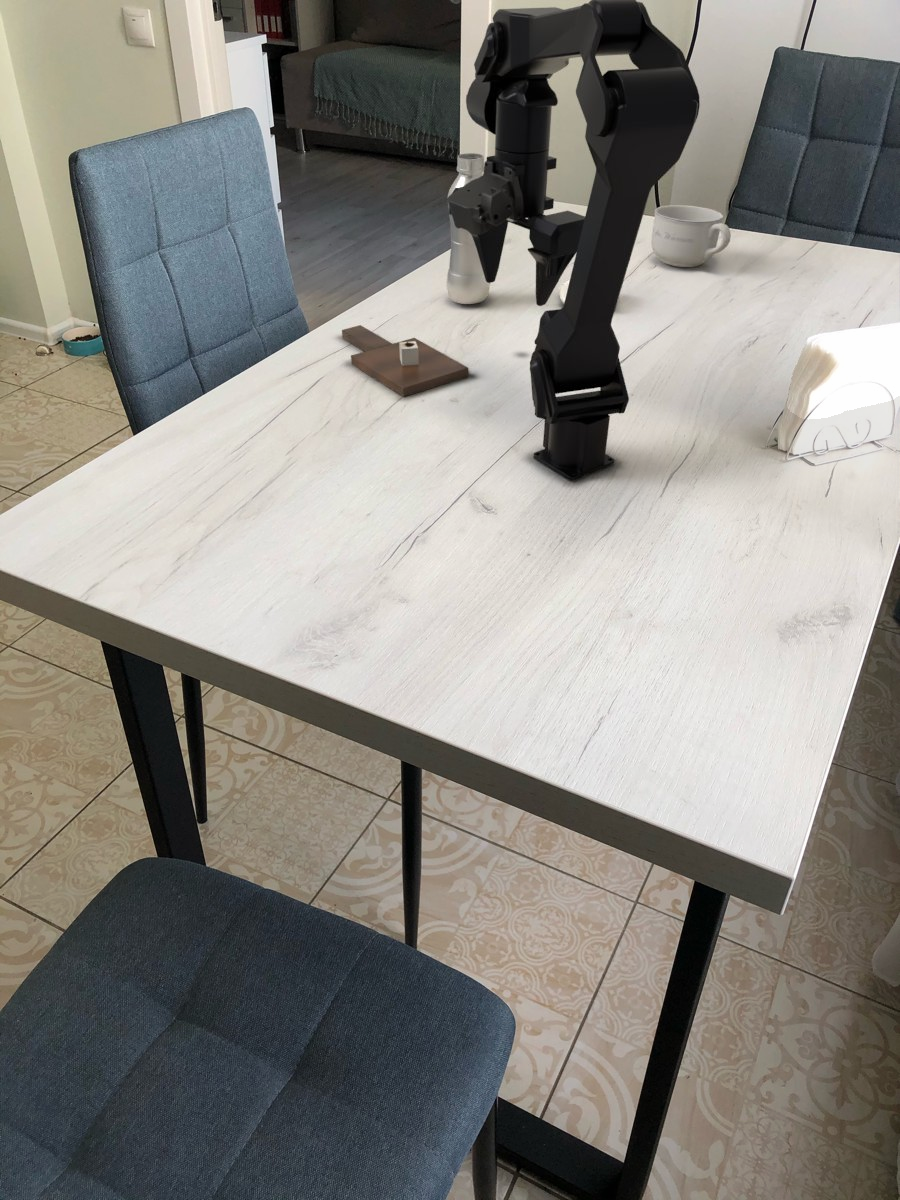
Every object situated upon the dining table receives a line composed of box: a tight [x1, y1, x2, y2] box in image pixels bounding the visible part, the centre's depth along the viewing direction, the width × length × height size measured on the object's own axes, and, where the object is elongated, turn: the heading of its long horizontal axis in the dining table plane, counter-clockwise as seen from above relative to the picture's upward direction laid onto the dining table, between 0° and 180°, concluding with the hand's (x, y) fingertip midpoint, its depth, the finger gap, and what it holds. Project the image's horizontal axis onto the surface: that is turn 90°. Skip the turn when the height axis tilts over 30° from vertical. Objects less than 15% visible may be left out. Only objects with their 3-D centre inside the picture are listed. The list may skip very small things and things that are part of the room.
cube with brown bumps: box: [398, 341, 419, 366], centre depth 119 cm, size 2×2×2 cm
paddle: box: [341, 324, 469, 398], centre depth 123 cm, size 20×10×1 cm, turn 37°
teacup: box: [651, 204, 732, 268], centre depth 151 cm, size 14×11×8 cm
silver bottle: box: [445, 152, 491, 305], centre depth 134 cm, size 6×7×20 cm
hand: (515, 293), depth 109 cm, fingers open, 9 cm apart
